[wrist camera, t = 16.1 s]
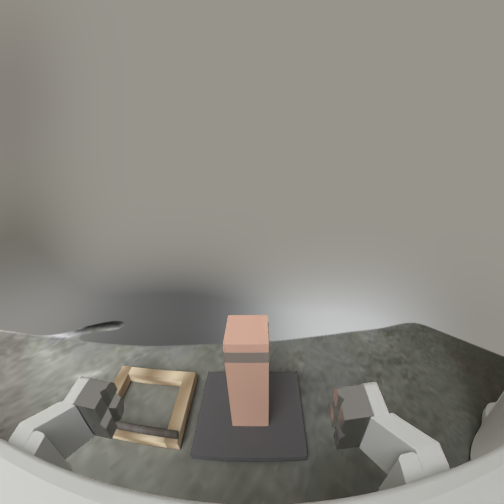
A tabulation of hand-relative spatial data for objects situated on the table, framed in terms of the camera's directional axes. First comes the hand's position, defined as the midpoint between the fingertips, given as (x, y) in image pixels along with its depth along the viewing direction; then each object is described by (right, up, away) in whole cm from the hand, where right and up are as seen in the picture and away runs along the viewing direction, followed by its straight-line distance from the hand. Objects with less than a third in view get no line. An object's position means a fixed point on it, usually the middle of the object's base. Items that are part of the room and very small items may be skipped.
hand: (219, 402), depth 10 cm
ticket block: (+1, -13, +22) cm, 26 cm away
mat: (+1, -14, +22) cm, 26 cm away
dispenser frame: (-12, -14, +23) cm, 29 cm away
